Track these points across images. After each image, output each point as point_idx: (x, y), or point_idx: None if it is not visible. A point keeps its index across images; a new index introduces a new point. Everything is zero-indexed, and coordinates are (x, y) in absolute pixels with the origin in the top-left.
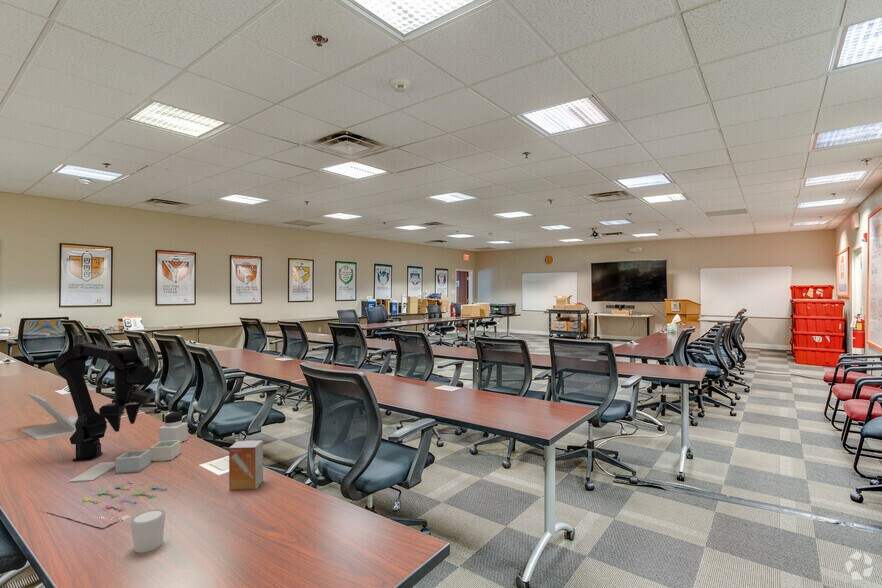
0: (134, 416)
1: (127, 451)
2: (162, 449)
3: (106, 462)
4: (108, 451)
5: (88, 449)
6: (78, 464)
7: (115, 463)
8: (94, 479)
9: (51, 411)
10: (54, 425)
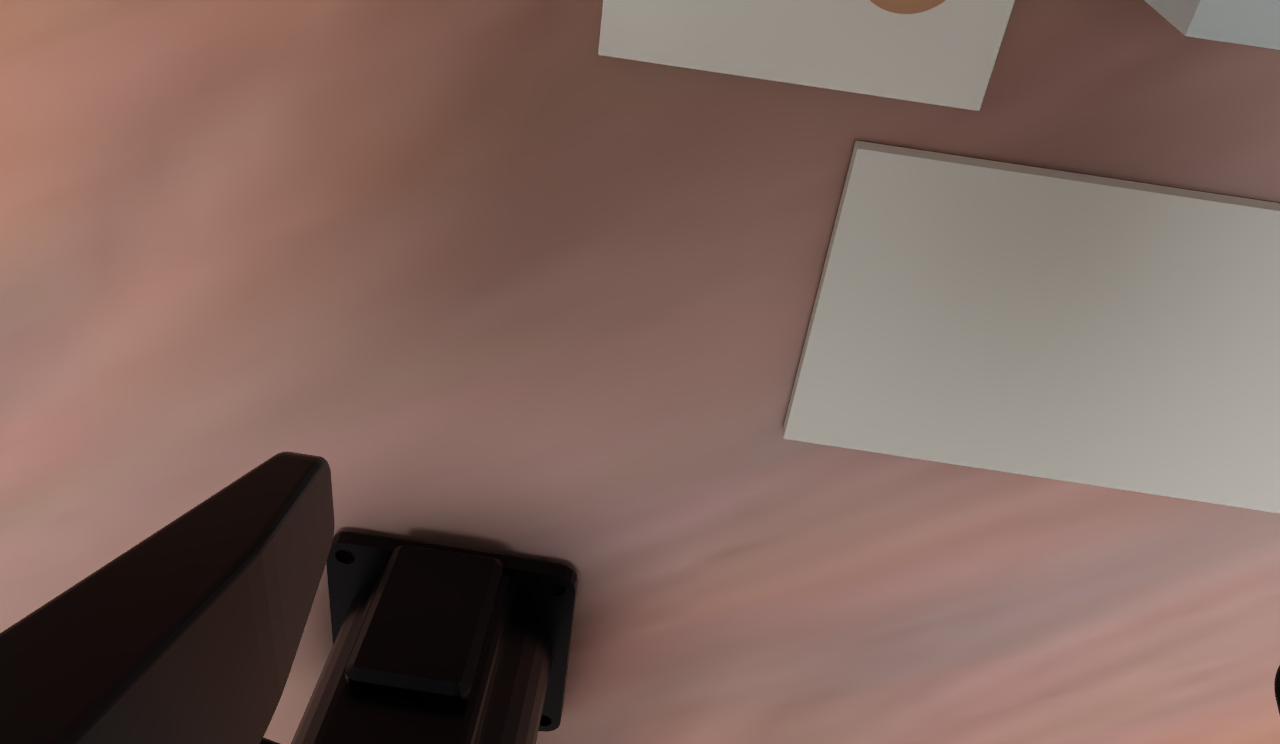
0: (163, 675)
1: (1228, 38)
2: None
3: (808, 359)
4: None
5: (512, 713)
6: (697, 635)
7: (927, 210)
8: None
9: None
10: None
